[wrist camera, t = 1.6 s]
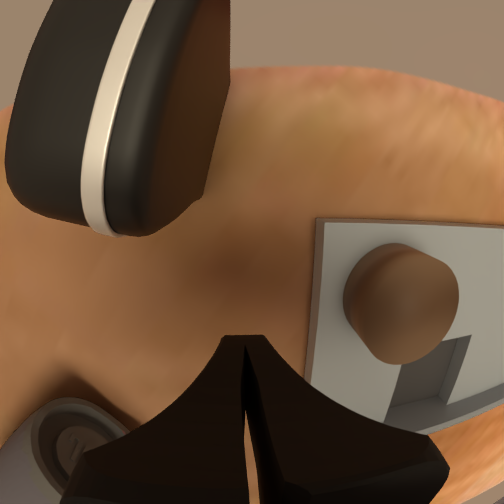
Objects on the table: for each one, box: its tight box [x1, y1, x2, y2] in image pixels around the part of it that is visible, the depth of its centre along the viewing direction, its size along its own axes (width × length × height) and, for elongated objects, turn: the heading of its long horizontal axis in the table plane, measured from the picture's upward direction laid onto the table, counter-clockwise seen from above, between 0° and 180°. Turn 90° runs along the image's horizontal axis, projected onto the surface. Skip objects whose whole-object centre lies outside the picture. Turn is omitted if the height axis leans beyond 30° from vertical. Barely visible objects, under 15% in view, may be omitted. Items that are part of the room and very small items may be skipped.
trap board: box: [304, 218, 504, 435], centre depth 17 cm, size 15×28×3 cm, turn 90°
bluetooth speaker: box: [0, 397, 130, 504], centre depth 15 cm, size 23×9×10 cm, turn 133°
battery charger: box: [5, 0, 230, 238], centre depth 9 cm, size 7×4×11 cm, turn 167°
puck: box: [343, 243, 459, 365], centre depth 14 cm, size 6×6×3 cm
